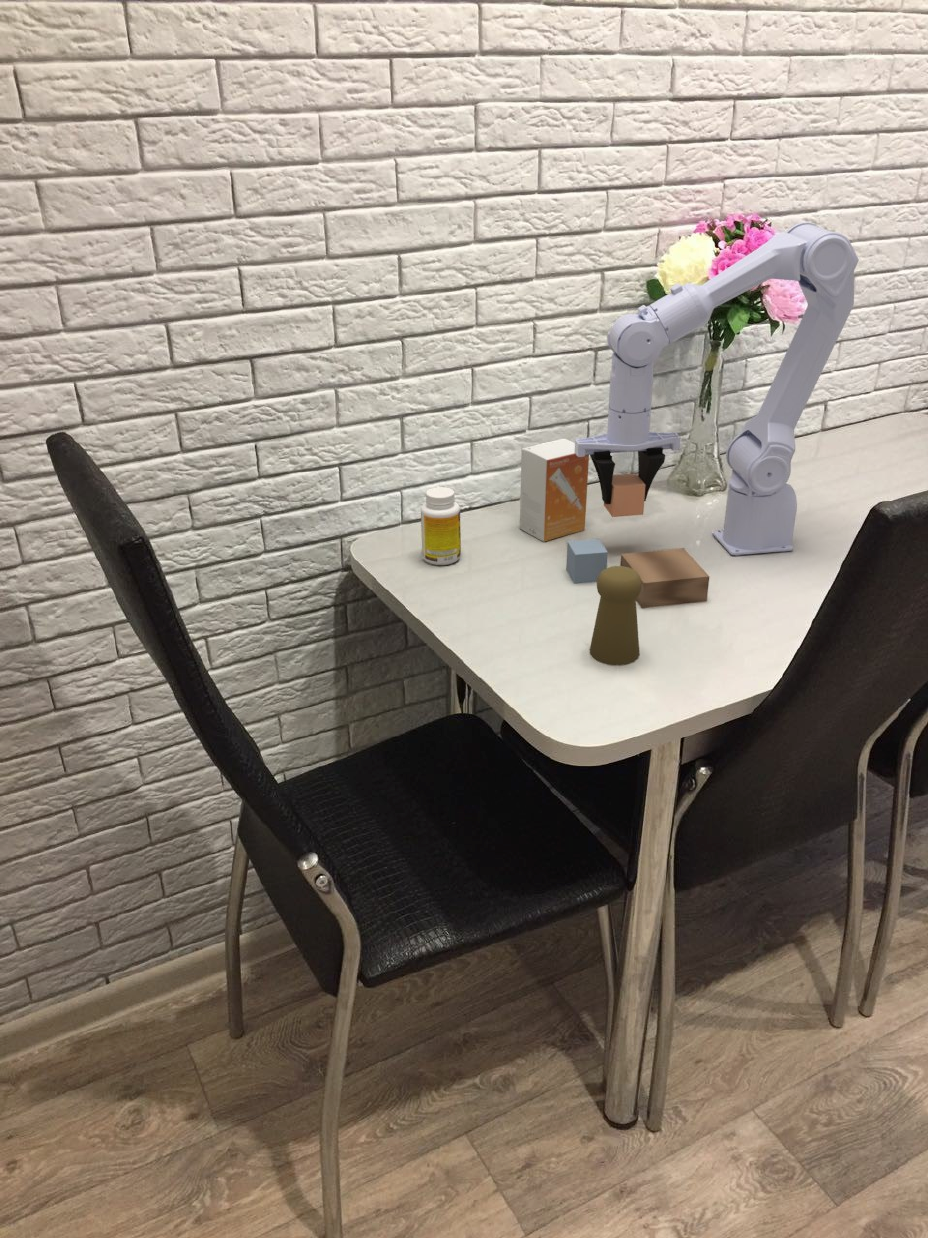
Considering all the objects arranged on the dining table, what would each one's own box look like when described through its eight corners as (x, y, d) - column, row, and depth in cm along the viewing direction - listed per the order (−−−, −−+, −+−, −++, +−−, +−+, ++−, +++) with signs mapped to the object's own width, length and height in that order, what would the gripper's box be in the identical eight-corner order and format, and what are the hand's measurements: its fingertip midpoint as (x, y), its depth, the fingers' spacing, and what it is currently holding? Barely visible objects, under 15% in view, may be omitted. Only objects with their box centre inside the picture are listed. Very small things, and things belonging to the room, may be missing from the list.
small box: (544, 543, 153) (546, 459, 147) (518, 529, 158) (519, 447, 151) (586, 530, 157) (590, 448, 151) (560, 516, 162) (563, 436, 155)
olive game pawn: (585, 641, 128) (589, 560, 122) (633, 638, 128) (639, 558, 123) (594, 666, 122) (599, 583, 117) (644, 664, 123) (651, 581, 117)
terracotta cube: (633, 502, 150) (635, 473, 148) (643, 514, 146) (645, 484, 144) (603, 504, 149) (605, 475, 147) (612, 517, 145) (614, 487, 143)
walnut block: (680, 574, 144) (683, 547, 142) (706, 603, 137) (709, 576, 135) (619, 580, 143) (621, 554, 141) (641, 610, 135) (643, 583, 133)
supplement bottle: (466, 563, 147) (465, 496, 142) (429, 569, 146) (427, 502, 141) (453, 547, 152) (452, 482, 147) (417, 553, 150) (415, 487, 145)
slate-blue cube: (597, 567, 146) (598, 538, 144) (605, 581, 142) (607, 552, 140) (566, 570, 145) (567, 540, 143) (574, 584, 141) (575, 554, 139)
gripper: (671, 395, 145) (663, 486, 151) (570, 401, 143) (567, 493, 149) (688, 410, 138) (680, 504, 145) (583, 417, 137) (579, 512, 143)
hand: (623, 500), depth 147 cm, fingers closed on terracotta cube, 4 cm apart
